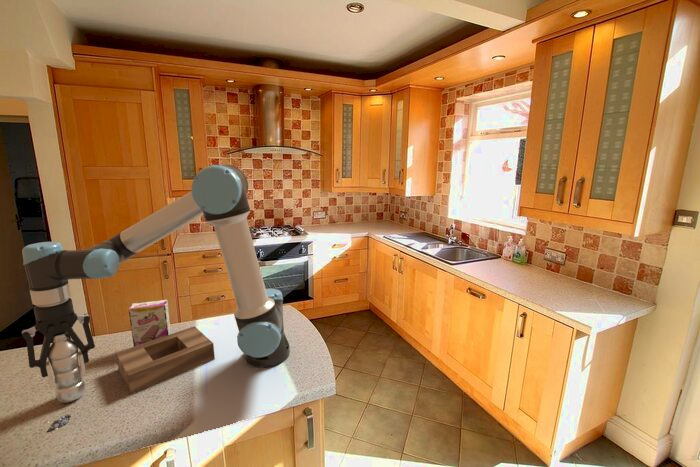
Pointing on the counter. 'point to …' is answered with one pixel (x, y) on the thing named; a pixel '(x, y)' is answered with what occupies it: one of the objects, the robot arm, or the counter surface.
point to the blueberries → (59, 423)
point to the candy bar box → (149, 321)
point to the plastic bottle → (66, 368)
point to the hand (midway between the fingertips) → (68, 379)
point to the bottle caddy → (163, 358)
